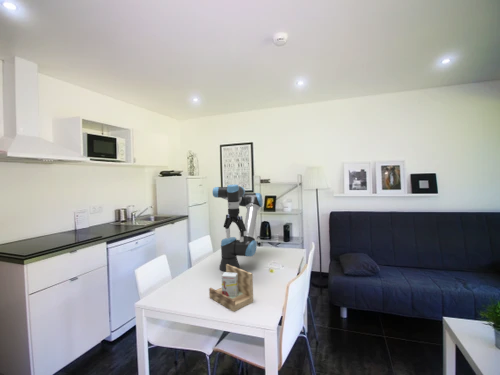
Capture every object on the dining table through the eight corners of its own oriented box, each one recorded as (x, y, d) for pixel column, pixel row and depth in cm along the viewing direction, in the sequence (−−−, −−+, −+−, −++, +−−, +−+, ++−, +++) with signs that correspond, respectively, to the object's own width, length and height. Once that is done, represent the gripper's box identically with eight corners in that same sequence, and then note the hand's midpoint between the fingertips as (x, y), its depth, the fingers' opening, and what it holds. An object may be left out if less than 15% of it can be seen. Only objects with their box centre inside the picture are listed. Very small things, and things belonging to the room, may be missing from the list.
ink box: (221, 296, 139) (221, 275, 139) (224, 292, 144) (223, 272, 144) (236, 297, 138) (235, 276, 137) (238, 292, 142) (237, 272, 142)
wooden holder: (209, 297, 144) (208, 270, 144) (228, 289, 154) (227, 264, 153) (233, 311, 128) (232, 281, 128) (253, 301, 138) (252, 273, 137)
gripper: (217, 207, 169) (218, 237, 171) (242, 210, 151) (243, 244, 153) (226, 205, 175) (227, 235, 176) (250, 208, 157) (251, 241, 158)
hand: (234, 239), depth 164 cm, fingers open, 13 cm apart
